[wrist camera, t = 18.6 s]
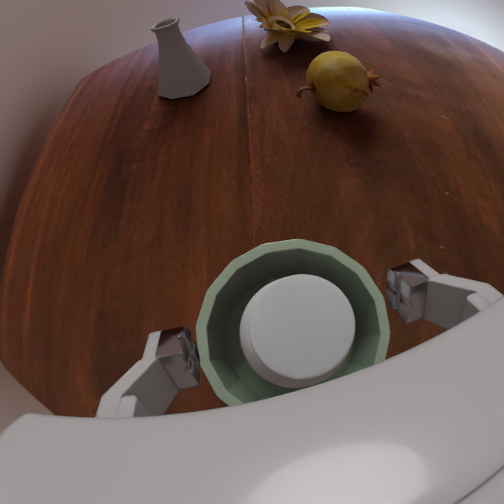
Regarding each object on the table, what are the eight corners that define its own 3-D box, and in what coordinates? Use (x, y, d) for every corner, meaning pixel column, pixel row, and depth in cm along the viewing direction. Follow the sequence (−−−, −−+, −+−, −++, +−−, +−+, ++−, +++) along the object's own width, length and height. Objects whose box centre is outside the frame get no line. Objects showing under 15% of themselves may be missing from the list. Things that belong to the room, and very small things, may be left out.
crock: (262, 430, 17) (256, 459, 11) (196, 312, 20) (166, 296, 15) (382, 358, 18) (419, 357, 12) (312, 247, 21) (323, 209, 16)
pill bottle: (245, 368, 18) (213, 383, 9) (259, 295, 20) (242, 246, 11) (321, 380, 17) (360, 405, 8) (333, 307, 19) (378, 266, 10)
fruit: (311, 88, 20) (402, 81, 20) (284, 41, 21) (370, 37, 21) (302, 128, 27) (380, 115, 27) (281, 82, 28) (355, 73, 28)
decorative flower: (327, 60, 28) (312, -8, 19) (248, 64, 32) (224, 5, 24) (341, 30, 33) (330, -19, 25) (278, 33, 38) (263, -12, 30)
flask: (174, 70, 33) (155, 16, 23) (220, 70, 31) (206, 8, 22) (149, 101, 30) (122, 41, 21) (198, 101, 29) (177, 32, 20)
